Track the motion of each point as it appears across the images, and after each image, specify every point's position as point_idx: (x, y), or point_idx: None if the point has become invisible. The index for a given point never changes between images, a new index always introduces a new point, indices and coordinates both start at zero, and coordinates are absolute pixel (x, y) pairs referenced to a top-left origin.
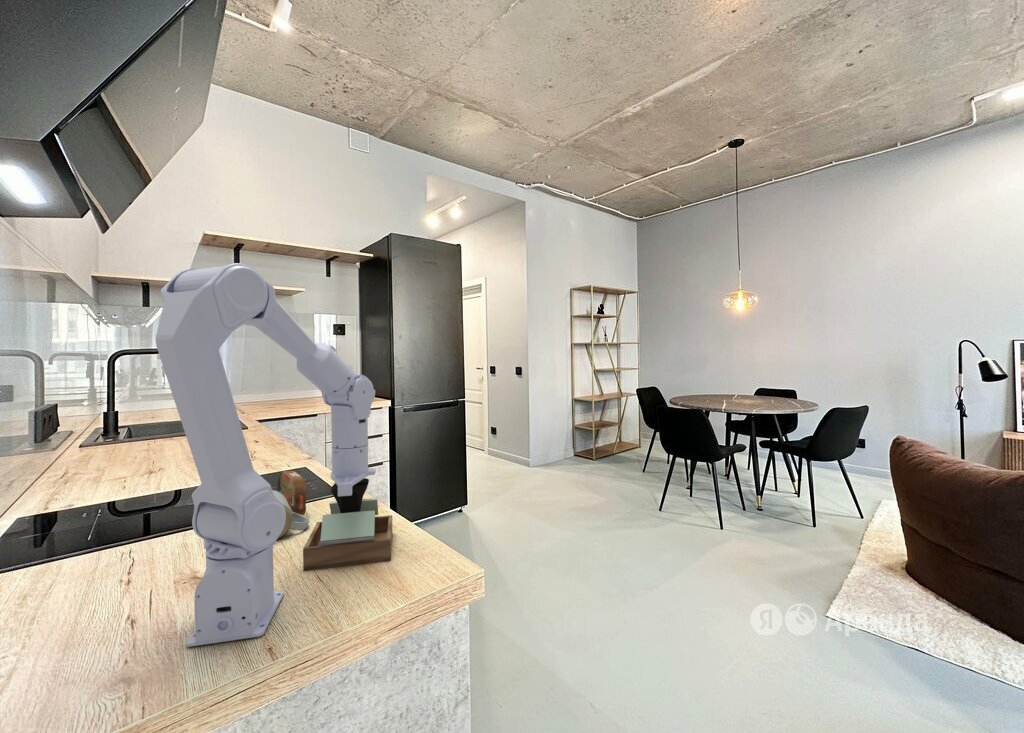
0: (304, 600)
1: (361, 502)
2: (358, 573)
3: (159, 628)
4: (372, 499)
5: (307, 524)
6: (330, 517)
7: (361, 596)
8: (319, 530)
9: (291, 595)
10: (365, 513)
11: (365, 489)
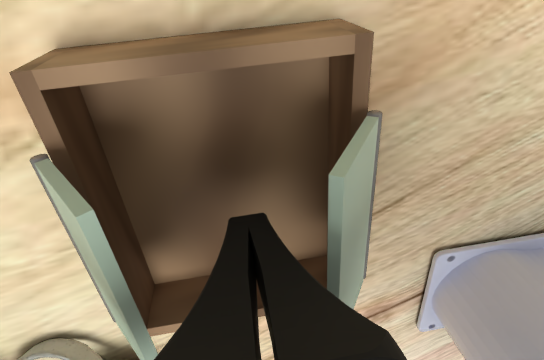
0: (476, 205)
1: (246, 280)
2: (395, 117)
3: (453, 351)
4: (100, 237)
5: (54, 348)
6: None
7: (531, 78)
8: (162, 308)
9: (441, 235)
10: (345, 215)
11: (392, 346)
